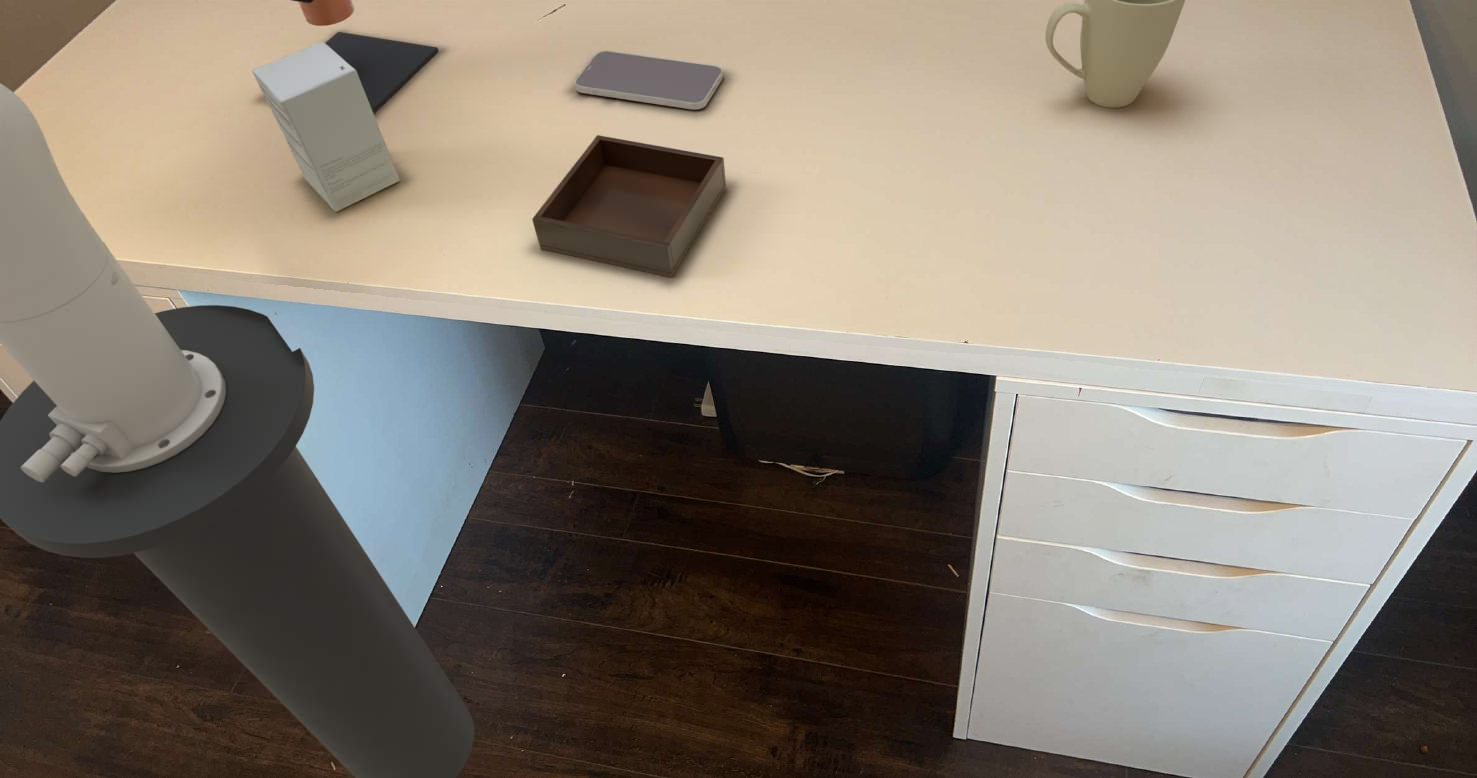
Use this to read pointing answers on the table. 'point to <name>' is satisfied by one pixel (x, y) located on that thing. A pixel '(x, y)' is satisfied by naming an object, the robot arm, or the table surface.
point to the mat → (380, 63)
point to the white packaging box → (328, 124)
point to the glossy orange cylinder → (327, 11)
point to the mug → (1118, 45)
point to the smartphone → (649, 79)
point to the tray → (631, 205)
